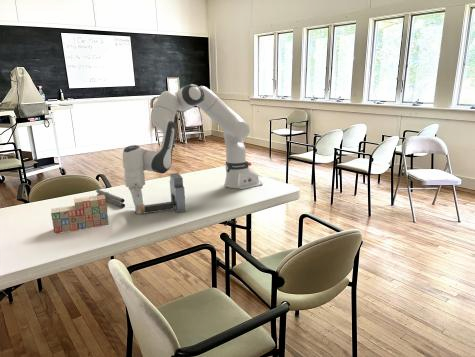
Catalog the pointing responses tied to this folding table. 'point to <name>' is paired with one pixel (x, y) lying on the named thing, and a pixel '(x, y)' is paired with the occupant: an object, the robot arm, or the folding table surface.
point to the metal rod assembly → (112, 198)
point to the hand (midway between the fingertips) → (137, 209)
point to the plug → (156, 207)
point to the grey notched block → (177, 192)
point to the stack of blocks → (81, 214)
